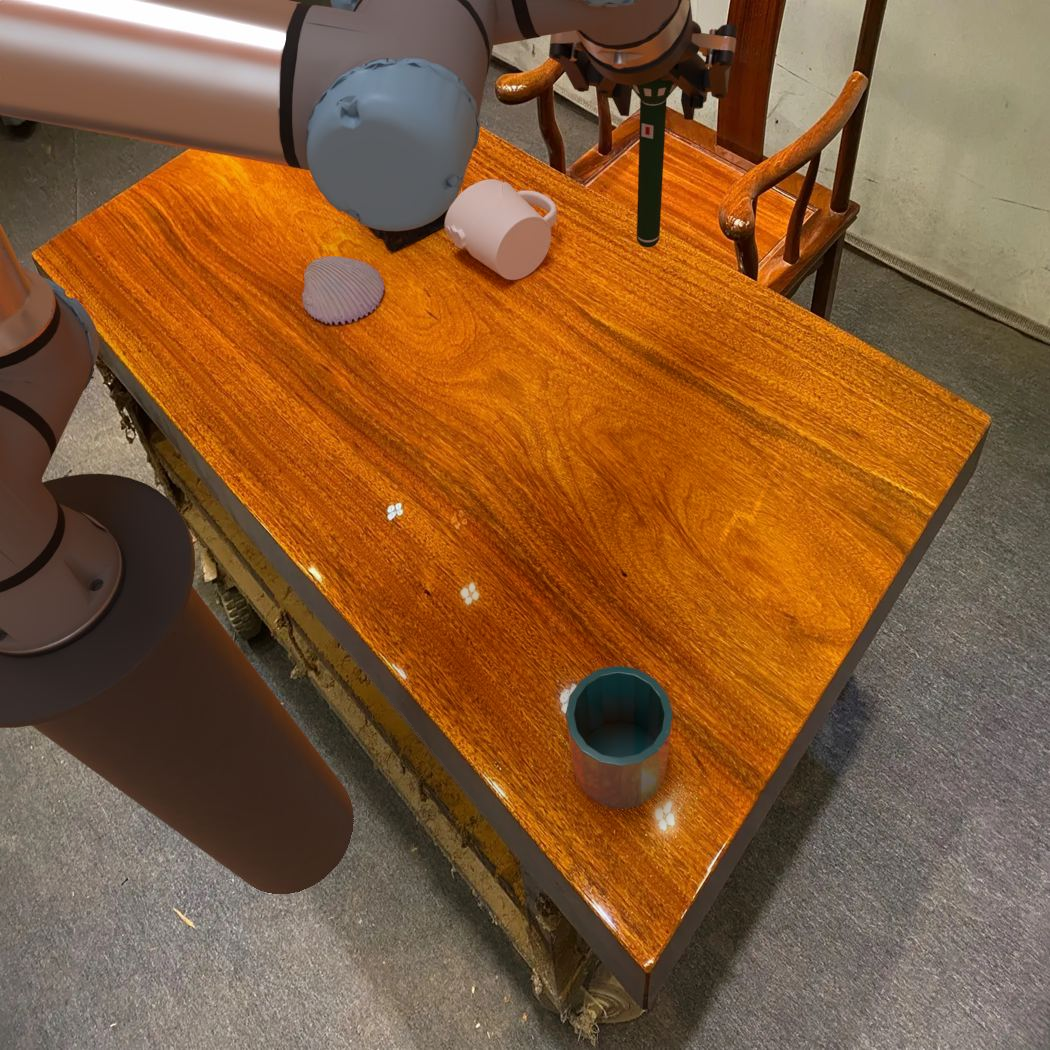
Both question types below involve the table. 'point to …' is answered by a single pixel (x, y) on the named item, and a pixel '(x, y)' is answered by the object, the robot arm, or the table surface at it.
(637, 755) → the cup
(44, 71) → the robot arm
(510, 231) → the mug
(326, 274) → the seashell
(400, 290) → the table surface
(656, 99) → the flashlight
